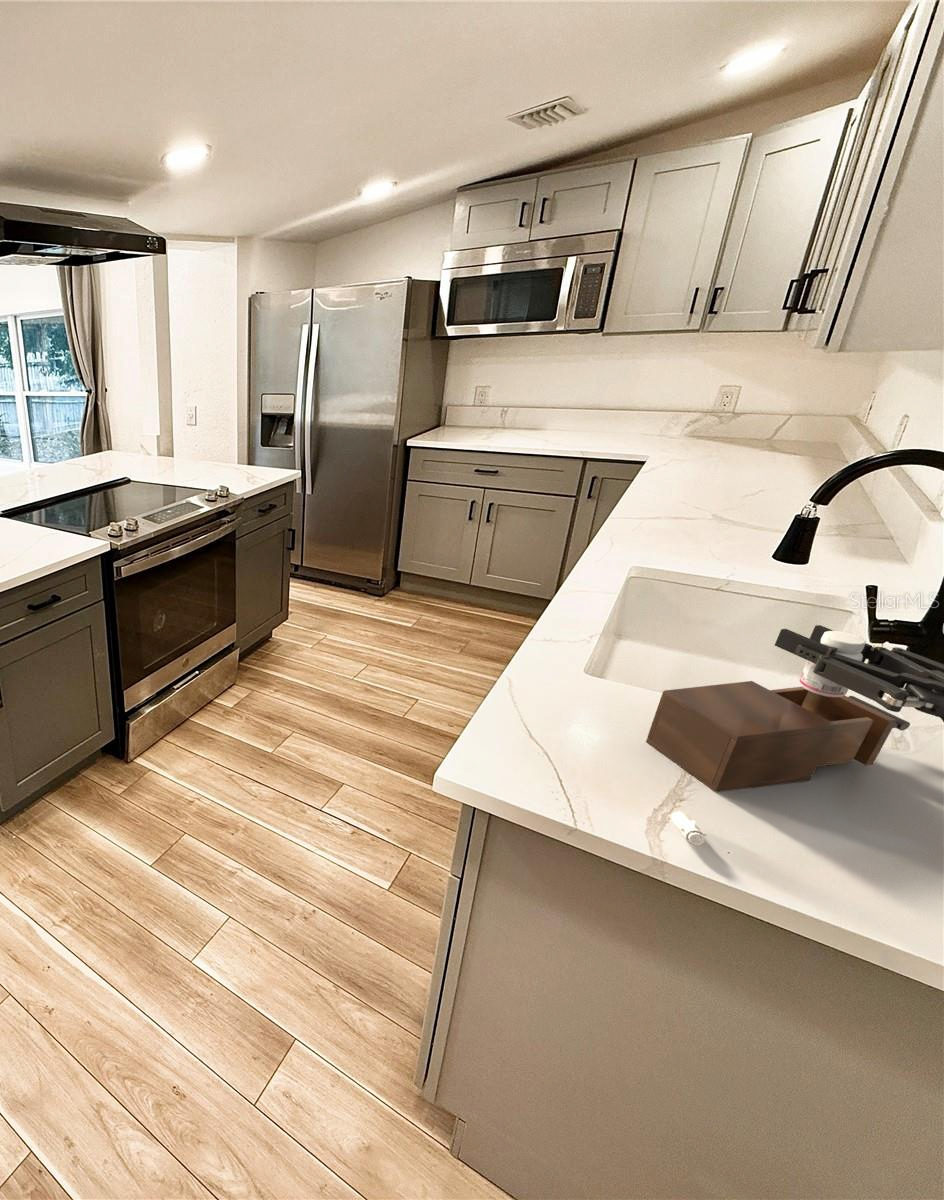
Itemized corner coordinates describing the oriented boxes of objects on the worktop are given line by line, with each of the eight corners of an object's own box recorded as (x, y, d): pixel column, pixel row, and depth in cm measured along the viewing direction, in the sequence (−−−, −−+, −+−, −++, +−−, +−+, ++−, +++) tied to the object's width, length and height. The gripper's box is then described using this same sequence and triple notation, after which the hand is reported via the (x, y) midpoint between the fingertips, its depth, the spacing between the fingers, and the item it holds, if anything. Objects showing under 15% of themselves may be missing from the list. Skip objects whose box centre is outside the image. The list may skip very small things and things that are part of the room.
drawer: (828, 718, 98) (848, 677, 94) (909, 760, 88) (934, 715, 85) (716, 731, 96) (733, 689, 93) (786, 775, 87) (808, 730, 84)
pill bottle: (809, 677, 90) (832, 626, 87) (852, 693, 86) (878, 640, 83) (790, 684, 89) (812, 633, 85) (833, 701, 85) (859, 648, 81)
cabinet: (730, 731, 97) (751, 680, 94) (810, 780, 87) (837, 725, 83) (645, 741, 96) (663, 690, 93) (715, 792, 86) (738, 736, 82)
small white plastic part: (706, 828, 80) (713, 810, 79) (699, 855, 76) (707, 836, 75) (671, 815, 83) (678, 797, 81) (662, 840, 79) (670, 821, 78)
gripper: (933, 764, 70) (732, 663, 91) (1070, 747, 71) (841, 651, 92) (965, 709, 67) (750, 618, 88) (1108, 692, 68) (862, 606, 89)
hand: (797, 635), depth 90 cm, fingers closed on pill bottle, 5 cm apart
